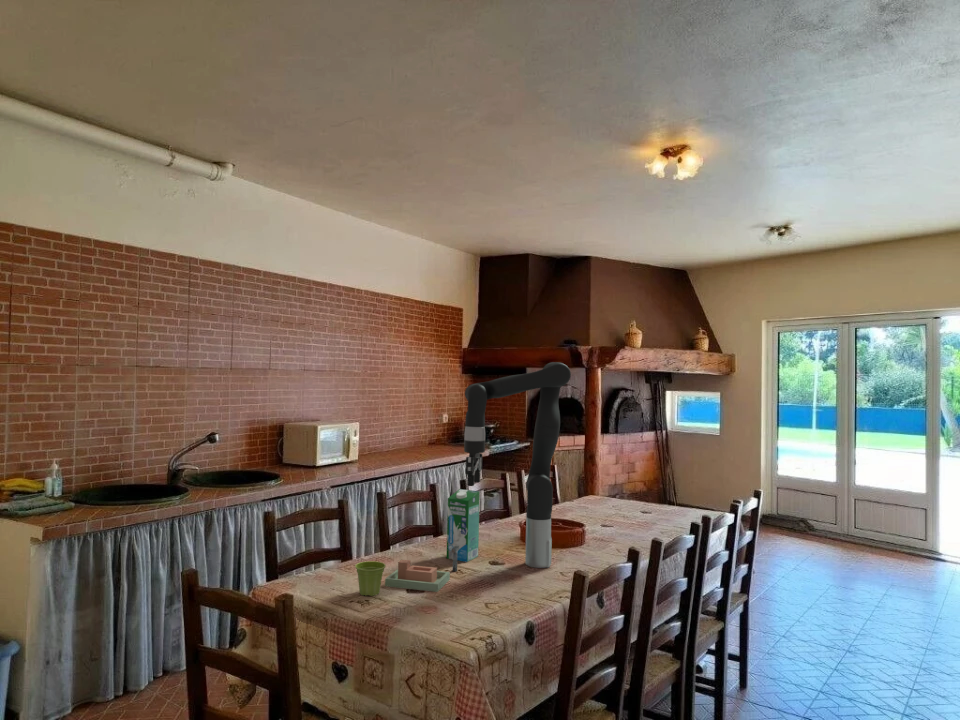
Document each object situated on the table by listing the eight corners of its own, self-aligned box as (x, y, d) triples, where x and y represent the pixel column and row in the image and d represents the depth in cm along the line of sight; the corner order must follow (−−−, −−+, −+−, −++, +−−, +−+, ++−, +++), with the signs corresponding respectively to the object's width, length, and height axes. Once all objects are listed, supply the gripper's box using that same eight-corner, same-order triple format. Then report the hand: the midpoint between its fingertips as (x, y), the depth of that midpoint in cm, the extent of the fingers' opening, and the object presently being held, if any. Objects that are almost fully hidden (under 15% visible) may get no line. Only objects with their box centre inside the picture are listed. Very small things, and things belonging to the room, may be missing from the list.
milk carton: (446, 558, 234) (447, 492, 234) (458, 552, 242) (459, 488, 242) (467, 562, 229) (468, 494, 230) (478, 556, 237) (479, 490, 238)
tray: (449, 579, 209) (449, 572, 209) (437, 591, 196) (437, 584, 196) (399, 574, 213) (400, 567, 213) (385, 586, 201) (385, 578, 201)
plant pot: (371, 586, 201) (371, 559, 201) (391, 592, 195) (391, 565, 195) (348, 593, 193) (349, 565, 194) (368, 600, 187) (368, 571, 188)
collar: (436, 579, 206) (437, 561, 207) (431, 585, 201) (431, 566, 201) (402, 576, 209) (402, 558, 209) (396, 581, 204) (396, 563, 204)
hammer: (458, 569, 221) (459, 546, 221) (455, 573, 216) (455, 549, 216) (454, 568, 221) (455, 545, 221) (450, 572, 216) (451, 549, 217)
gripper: (480, 441, 216) (479, 487, 215) (489, 437, 230) (488, 481, 229) (459, 440, 218) (458, 486, 217) (469, 437, 231) (469, 480, 231)
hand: (473, 484), depth 223 cm, fingers open, 8 cm apart
